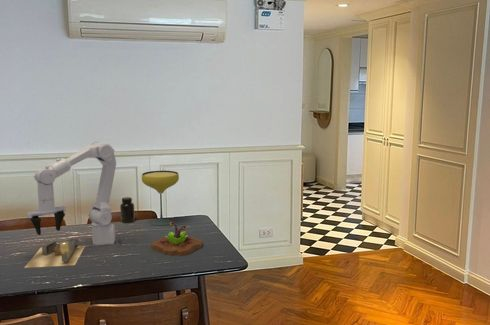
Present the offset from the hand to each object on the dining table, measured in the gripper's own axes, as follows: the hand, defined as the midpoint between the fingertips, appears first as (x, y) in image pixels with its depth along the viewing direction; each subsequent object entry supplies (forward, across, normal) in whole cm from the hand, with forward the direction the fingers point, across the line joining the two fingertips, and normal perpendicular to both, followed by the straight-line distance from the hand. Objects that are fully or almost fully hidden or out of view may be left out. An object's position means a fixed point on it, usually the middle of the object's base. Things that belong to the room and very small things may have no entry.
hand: (48, 232), depth 187 cm
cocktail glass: (+10, -60, -8) cm, 62 cm away
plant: (+11, -43, +26) cm, 52 cm away
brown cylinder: (+9, -3, +2) cm, 10 cm away
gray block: (+10, -1, -2) cm, 10 cm away
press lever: (+8, -5, +7) cm, 12 cm away
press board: (+10, -1, +4) cm, 11 cm away
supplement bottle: (+10, -49, -23) cm, 55 cm away
